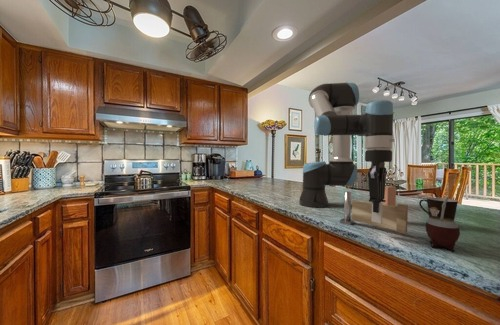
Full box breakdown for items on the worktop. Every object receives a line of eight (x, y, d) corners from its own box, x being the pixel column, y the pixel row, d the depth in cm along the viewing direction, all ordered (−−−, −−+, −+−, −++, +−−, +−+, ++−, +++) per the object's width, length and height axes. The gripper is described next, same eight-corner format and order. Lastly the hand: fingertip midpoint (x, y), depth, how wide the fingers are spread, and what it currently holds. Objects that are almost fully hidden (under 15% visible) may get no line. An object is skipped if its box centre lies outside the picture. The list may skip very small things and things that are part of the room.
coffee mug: (463, 230, 73) (464, 202, 73) (435, 228, 75) (436, 201, 75) (440, 220, 85) (441, 196, 85) (416, 219, 86) (417, 195, 86)
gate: (353, 220, 80) (354, 197, 80) (407, 232, 68) (407, 204, 68) (351, 221, 79) (351, 198, 78) (405, 234, 66) (406, 205, 66)
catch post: (387, 222, 81) (387, 187, 81) (380, 220, 85) (380, 185, 85) (395, 222, 82) (395, 187, 82) (387, 219, 85) (388, 185, 85)
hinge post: (344, 220, 84) (344, 190, 84) (354, 222, 81) (355, 192, 81) (339, 222, 81) (340, 191, 81) (350, 224, 78) (351, 193, 78)
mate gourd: (439, 241, 63) (440, 192, 62) (470, 253, 55) (472, 197, 55) (417, 243, 62) (418, 192, 61) (446, 255, 54) (447, 197, 54)
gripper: (386, 148, 60) (384, 229, 61) (396, 150, 69) (394, 220, 70) (359, 149, 66) (357, 223, 66) (371, 150, 75) (370, 215, 75)
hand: (376, 221), depth 68 cm, fingers closed
